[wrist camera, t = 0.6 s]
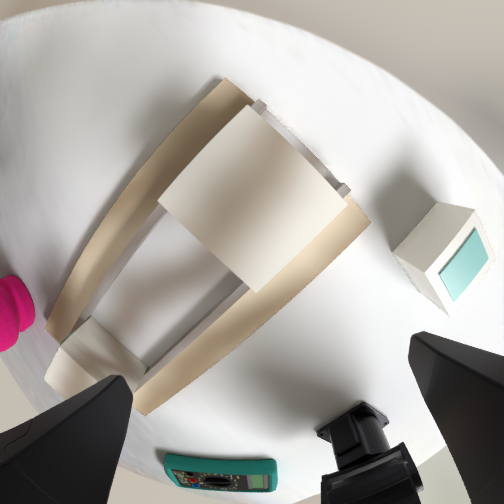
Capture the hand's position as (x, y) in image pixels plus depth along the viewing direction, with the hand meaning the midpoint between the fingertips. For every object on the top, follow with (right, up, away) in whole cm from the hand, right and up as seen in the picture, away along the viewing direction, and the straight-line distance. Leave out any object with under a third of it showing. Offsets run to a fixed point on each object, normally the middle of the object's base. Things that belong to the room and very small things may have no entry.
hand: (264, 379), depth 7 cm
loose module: (+14, +4, +12) cm, 19 cm away
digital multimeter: (-4, -25, +21) cm, 33 cm away
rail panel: (-7, +1, +13) cm, 15 cm away
